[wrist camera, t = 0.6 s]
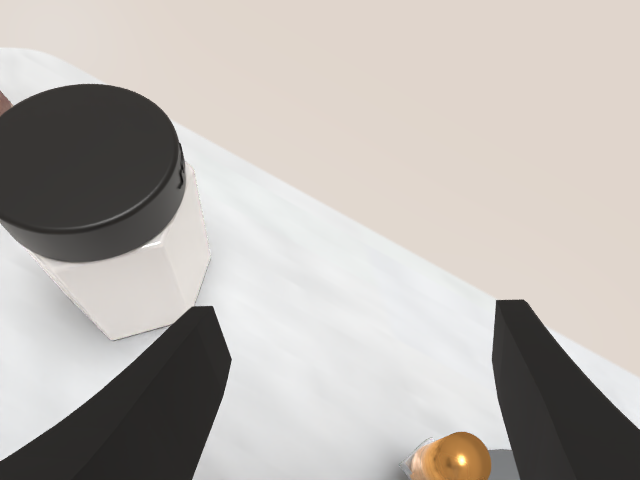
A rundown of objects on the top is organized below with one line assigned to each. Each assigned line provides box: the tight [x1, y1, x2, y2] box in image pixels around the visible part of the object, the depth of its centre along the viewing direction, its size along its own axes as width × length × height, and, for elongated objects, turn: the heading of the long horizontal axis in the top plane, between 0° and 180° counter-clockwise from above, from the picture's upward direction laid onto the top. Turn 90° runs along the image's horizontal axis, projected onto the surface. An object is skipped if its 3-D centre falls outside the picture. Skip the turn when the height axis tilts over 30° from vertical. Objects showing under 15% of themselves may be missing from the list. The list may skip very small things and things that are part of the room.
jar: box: [0, 84, 211, 340], centre depth 25 cm, size 9×8×12 cm
